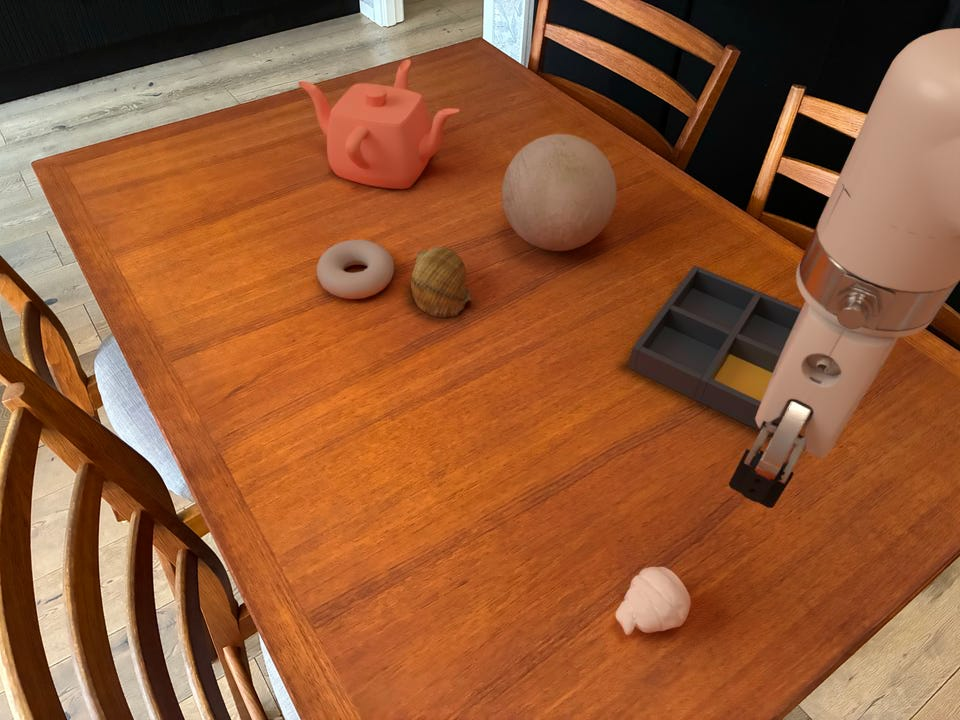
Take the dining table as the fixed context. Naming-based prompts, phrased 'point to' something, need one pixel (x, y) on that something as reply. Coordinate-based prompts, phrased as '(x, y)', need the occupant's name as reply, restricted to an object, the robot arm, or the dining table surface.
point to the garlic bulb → (654, 602)
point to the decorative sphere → (559, 192)
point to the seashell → (439, 282)
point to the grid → (716, 343)
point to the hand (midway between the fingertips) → (775, 447)
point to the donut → (357, 282)
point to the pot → (379, 132)
